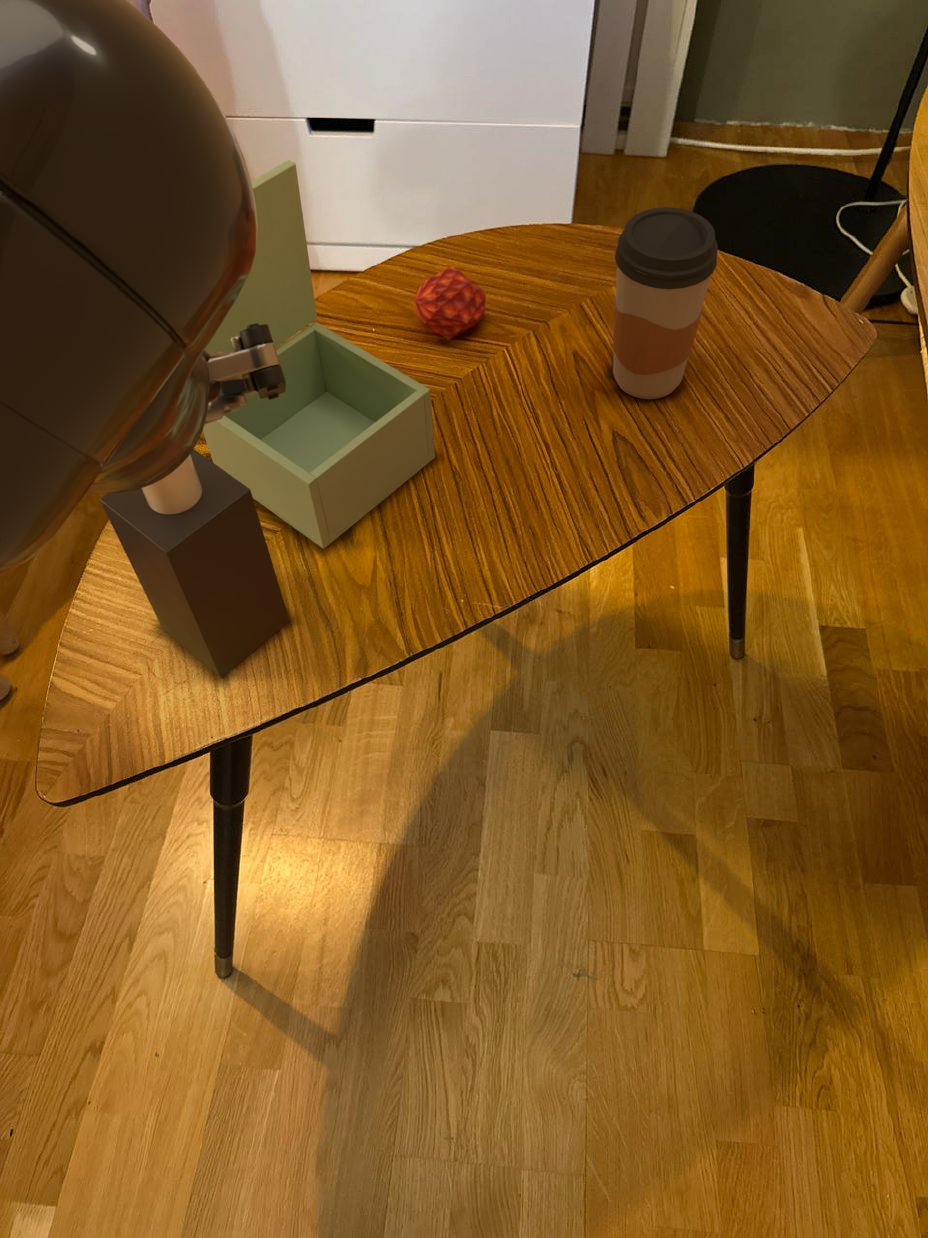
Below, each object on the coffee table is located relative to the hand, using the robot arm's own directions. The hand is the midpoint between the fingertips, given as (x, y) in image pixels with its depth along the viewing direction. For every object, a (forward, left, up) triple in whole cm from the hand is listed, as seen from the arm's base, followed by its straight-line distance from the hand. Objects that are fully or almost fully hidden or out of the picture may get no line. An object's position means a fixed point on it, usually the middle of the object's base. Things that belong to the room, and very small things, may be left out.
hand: (132, 416), depth 49 cm
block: (+4, +7, -29) cm, 30 cm away
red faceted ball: (+42, +18, -29) cm, 54 cm away
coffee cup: (+48, -1, -29) cm, 56 cm away
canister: (+4, +7, -14) cm, 16 cm away
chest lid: (+21, +20, -13) cm, 31 cm away
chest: (+21, +14, -29) cm, 38 cm away
